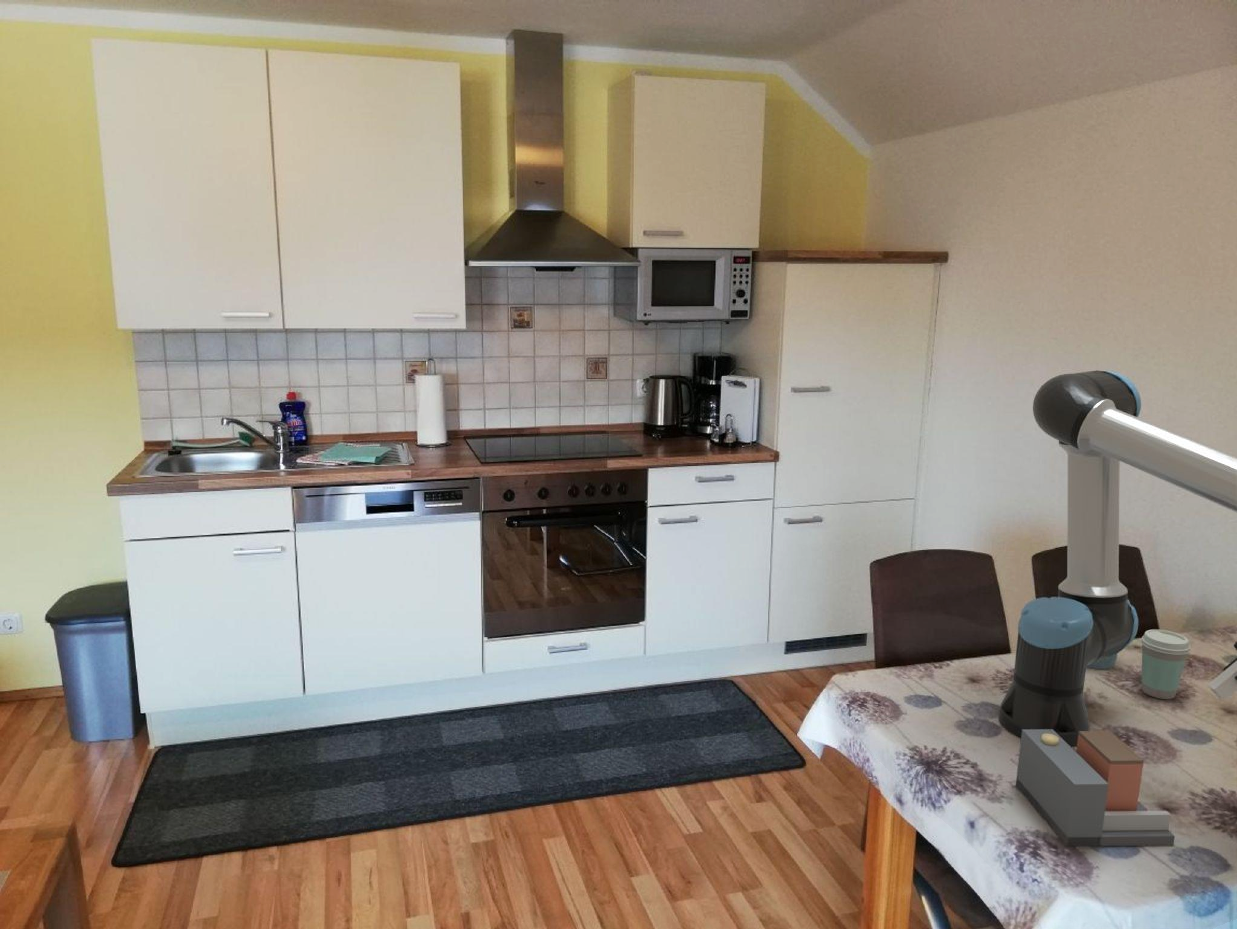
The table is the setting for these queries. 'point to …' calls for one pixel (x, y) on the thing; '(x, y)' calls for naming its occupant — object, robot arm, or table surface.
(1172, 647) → the coffee cup
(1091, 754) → the orange brown-topped block
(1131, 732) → the table surface
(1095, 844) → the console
